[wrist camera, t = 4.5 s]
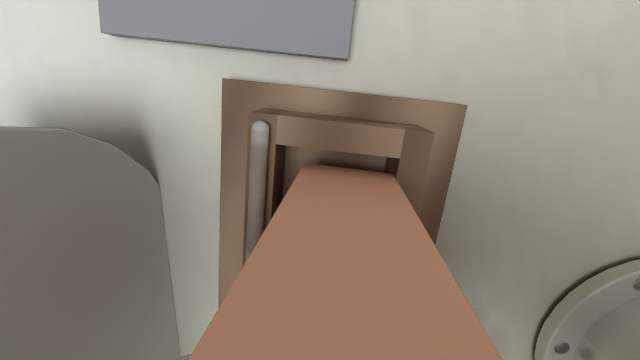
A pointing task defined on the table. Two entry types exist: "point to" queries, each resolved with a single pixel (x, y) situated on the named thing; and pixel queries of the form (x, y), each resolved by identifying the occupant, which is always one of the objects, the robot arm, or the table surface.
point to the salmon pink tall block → (345, 281)
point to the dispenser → (324, 153)
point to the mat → (237, 24)
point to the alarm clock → (81, 252)
